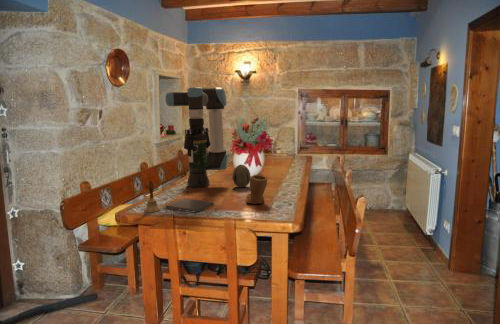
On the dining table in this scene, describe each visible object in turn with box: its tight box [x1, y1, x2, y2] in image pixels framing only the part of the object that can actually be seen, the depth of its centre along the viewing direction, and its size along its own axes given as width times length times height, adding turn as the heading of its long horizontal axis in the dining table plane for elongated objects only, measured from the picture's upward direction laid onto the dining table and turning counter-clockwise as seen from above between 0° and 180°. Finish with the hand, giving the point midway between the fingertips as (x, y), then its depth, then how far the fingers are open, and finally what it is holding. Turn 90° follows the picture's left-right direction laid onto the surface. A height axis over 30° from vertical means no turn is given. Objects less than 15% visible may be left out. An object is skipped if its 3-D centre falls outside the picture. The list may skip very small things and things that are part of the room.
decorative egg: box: [232, 164, 252, 188], centre depth 249 cm, size 12×12×15 cm
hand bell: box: [143, 179, 161, 213], centre depth 199 cm, size 8×8×16 cm
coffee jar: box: [188, 133, 208, 169], centre depth 201 cm, size 10×8×19 cm
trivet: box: [165, 198, 214, 213], centre depth 206 cm, size 20×16×2 cm
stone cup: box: [245, 174, 268, 205], centre depth 213 cm, size 15×12×15 cm
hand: (198, 161), depth 201 cm, fingers closed on coffee jar, 8 cm apart
